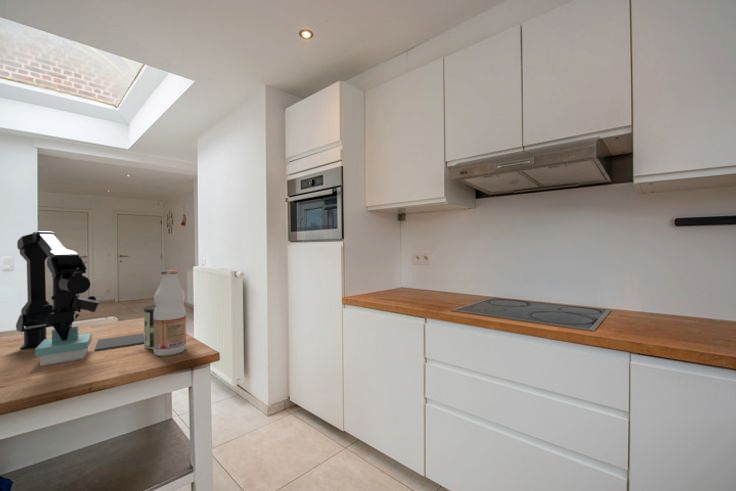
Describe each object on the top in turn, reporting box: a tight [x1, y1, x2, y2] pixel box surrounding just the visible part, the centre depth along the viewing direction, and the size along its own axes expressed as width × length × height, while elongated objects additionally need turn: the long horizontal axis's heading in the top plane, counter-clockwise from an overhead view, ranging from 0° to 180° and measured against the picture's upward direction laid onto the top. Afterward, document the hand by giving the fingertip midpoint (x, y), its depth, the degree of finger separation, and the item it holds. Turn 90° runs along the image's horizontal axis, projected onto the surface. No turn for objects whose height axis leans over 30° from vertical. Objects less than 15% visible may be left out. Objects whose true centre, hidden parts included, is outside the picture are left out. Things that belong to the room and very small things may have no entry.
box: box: [39, 348, 89, 366], centre depth 103 cm, size 10×10×4 cm
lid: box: [34, 325, 92, 357], centre depth 103 cm, size 12×12×6 cm
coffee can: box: [143, 304, 156, 350], centre depth 116 cm, size 10×10×14 cm
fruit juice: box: [153, 269, 187, 357], centre depth 108 cm, size 9×9×28 cm
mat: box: [94, 332, 144, 352], centre depth 119 cm, size 14×14×1 cm
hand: (65, 339), depth 103 cm, fingers closed on lid, 2 cm apart
